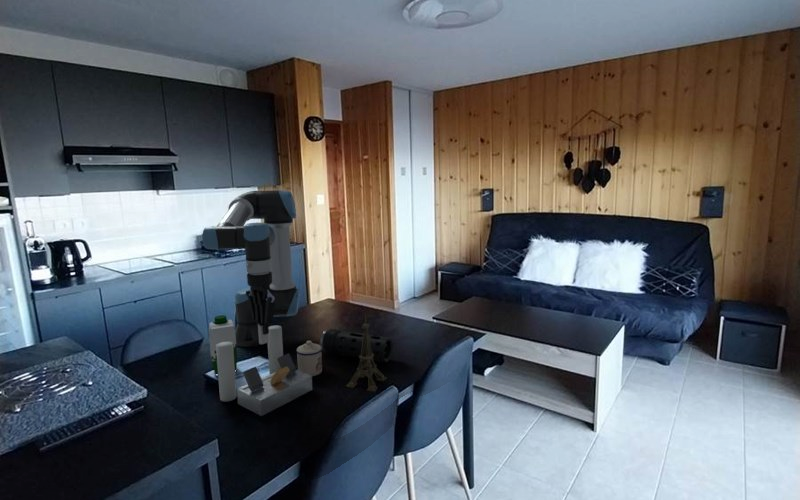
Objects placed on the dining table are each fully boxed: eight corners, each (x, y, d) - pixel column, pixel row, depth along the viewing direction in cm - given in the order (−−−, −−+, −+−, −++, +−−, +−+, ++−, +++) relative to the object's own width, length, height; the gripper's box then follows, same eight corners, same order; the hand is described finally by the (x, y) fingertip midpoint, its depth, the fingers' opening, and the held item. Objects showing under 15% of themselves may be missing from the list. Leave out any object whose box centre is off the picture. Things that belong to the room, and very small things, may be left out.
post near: (217, 398, 139) (212, 345, 137) (231, 392, 143) (227, 340, 140) (225, 403, 137) (221, 348, 134) (239, 396, 140) (236, 343, 138)
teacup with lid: (321, 376, 154) (320, 345, 152) (295, 378, 153) (294, 346, 152) (324, 362, 166) (323, 333, 164) (300, 363, 165) (299, 334, 163)
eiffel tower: (346, 386, 147) (344, 315, 143) (359, 373, 157) (358, 306, 153) (374, 391, 143) (373, 319, 139) (386, 378, 153) (386, 309, 149)
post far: (266, 376, 154) (263, 328, 152) (278, 371, 158) (275, 324, 155) (275, 380, 152) (272, 331, 149) (287, 375, 155) (284, 327, 152)
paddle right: (285, 377, 144) (277, 358, 145) (294, 372, 147) (286, 354, 148) (287, 375, 143) (279, 357, 144) (297, 371, 146) (289, 353, 147)
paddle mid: (269, 382, 138) (277, 370, 135) (279, 377, 141) (287, 366, 138) (271, 386, 138) (279, 374, 134) (282, 381, 141) (290, 370, 137)
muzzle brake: (383, 368, 161) (383, 342, 159) (318, 357, 171) (317, 332, 170) (393, 358, 170) (393, 333, 168) (331, 348, 180) (330, 324, 178)
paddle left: (251, 392, 133) (242, 372, 135) (262, 387, 137) (253, 368, 138) (253, 390, 132) (244, 371, 134) (264, 385, 136) (256, 366, 137)
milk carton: (236, 363, 165) (232, 313, 162) (239, 373, 158) (235, 320, 154) (211, 368, 161) (206, 317, 158) (213, 378, 154) (208, 324, 150)
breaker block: (237, 403, 136) (236, 388, 135) (289, 380, 152) (288, 365, 151) (261, 416, 129) (260, 399, 128) (312, 389, 145) (311, 374, 144)
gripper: (236, 271, 138) (242, 341, 142) (262, 277, 130) (266, 351, 134) (257, 267, 143) (261, 334, 148) (282, 272, 136) (286, 343, 140)
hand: (264, 342), depth 141 cm, fingers closed
